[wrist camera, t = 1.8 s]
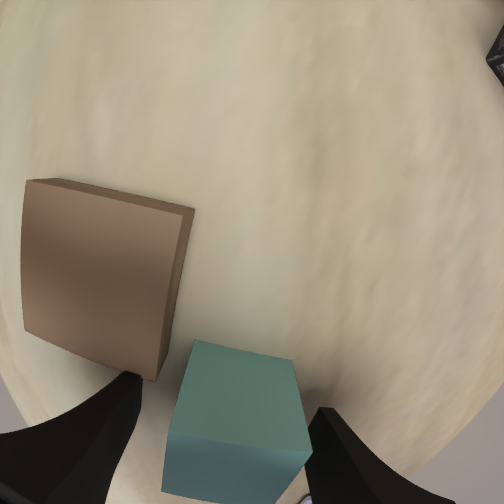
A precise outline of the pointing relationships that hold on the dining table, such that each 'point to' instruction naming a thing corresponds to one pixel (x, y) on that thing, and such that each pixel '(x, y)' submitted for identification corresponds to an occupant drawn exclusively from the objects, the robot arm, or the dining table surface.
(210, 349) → the teal brick
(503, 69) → the small box
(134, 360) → the base brick
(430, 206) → the dining table surface
